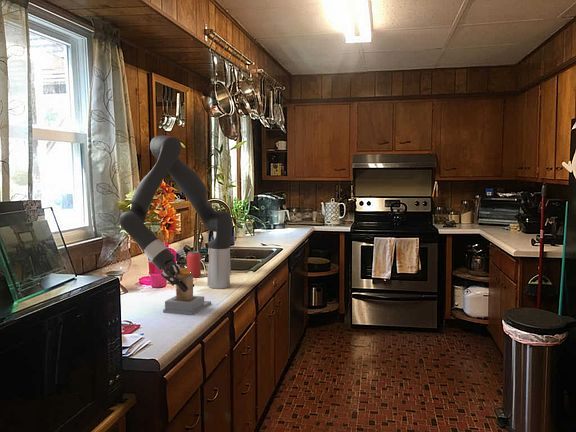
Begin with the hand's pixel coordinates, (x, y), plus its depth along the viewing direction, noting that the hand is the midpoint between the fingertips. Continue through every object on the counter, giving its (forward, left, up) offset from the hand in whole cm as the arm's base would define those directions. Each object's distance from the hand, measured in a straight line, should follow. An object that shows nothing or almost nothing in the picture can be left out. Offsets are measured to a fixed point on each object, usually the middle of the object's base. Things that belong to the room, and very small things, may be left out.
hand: (189, 289), depth 187 cm
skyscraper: (-42, +50, -8) cm, 66 cm away
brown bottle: (-2, -1, -6) cm, 6 cm away
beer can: (-47, +37, -8) cm, 60 cm away
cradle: (-3, +1, -8) cm, 8 cm away
